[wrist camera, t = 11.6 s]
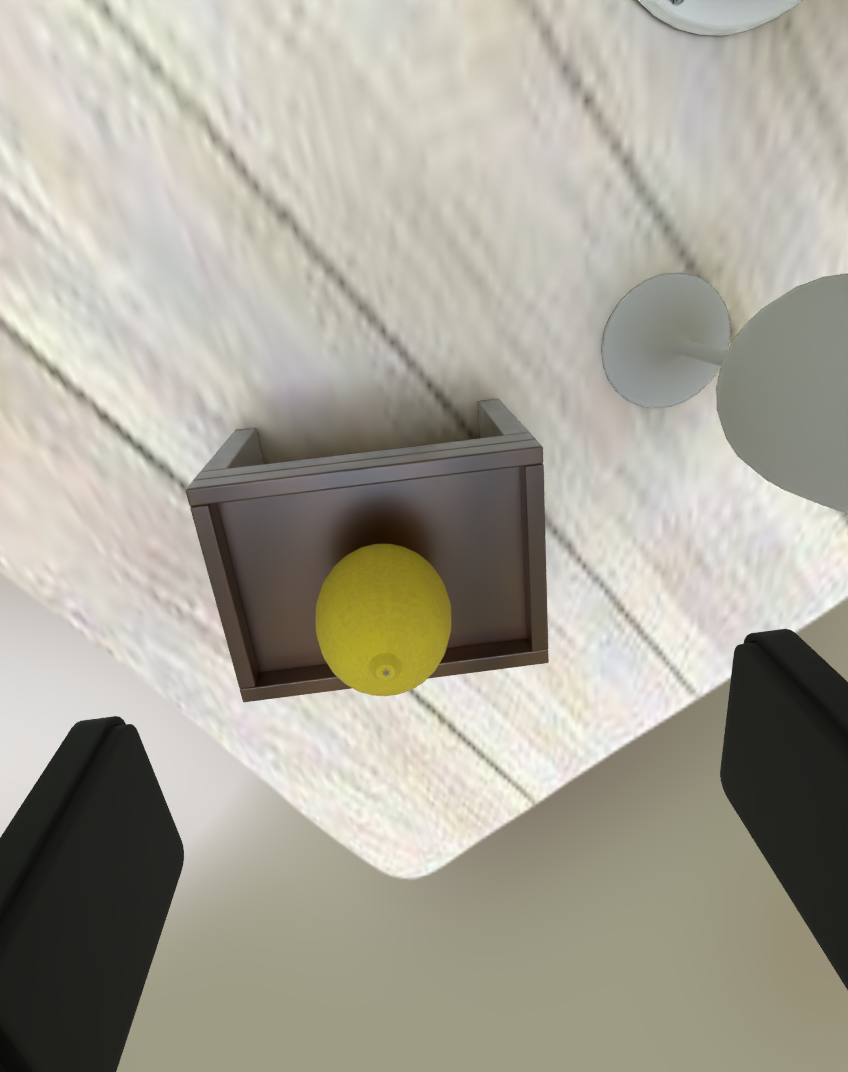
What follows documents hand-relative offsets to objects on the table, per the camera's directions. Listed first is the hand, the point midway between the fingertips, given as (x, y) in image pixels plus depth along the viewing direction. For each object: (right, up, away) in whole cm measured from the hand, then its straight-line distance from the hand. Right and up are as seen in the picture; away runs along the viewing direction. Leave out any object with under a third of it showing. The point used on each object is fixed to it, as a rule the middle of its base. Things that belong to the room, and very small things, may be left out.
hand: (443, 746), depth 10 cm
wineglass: (+13, +14, +25) cm, 32 cm away
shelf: (-3, +5, +28) cm, 28 cm away
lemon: (-2, +2, +20) cm, 20 cm away
